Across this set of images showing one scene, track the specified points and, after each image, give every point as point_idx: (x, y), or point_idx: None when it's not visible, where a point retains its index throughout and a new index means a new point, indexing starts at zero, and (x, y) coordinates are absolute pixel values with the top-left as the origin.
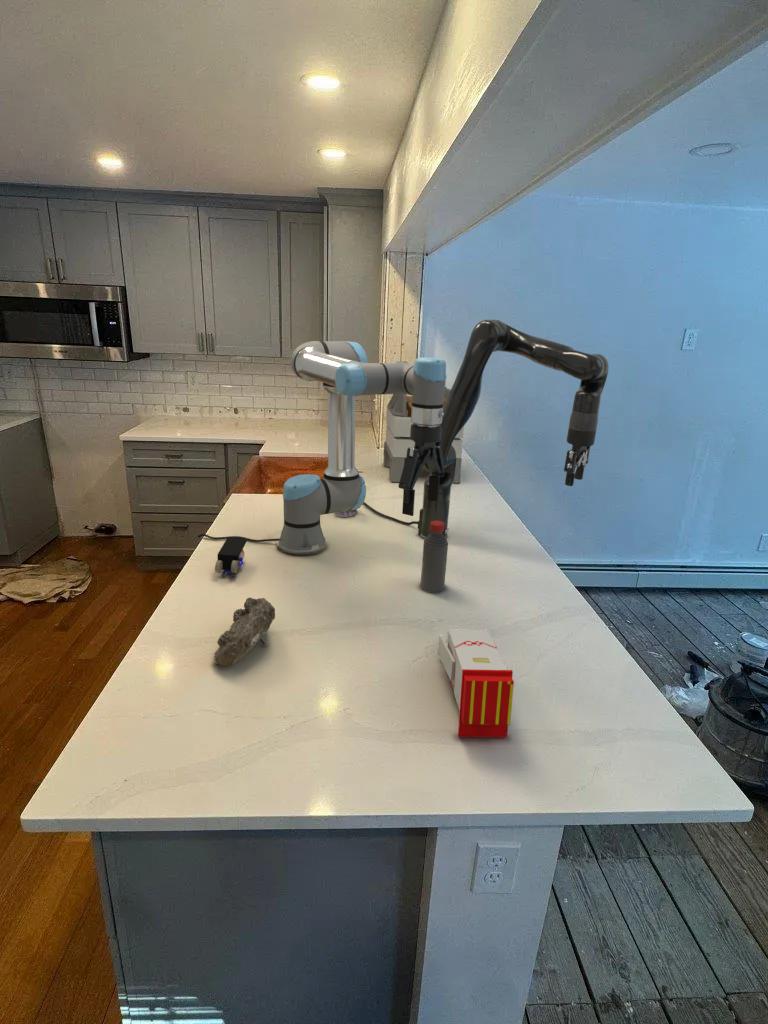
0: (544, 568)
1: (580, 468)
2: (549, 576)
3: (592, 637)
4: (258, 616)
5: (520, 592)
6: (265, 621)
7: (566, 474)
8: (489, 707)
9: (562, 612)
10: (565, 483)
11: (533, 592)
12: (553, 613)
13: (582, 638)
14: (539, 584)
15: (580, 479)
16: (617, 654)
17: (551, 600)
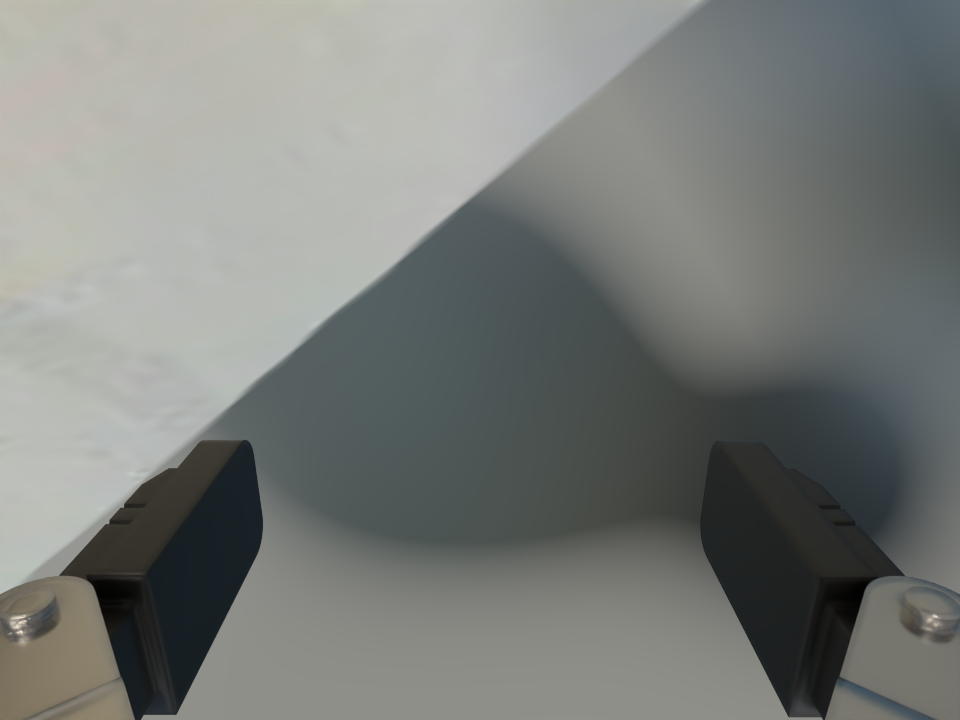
0: (483, 140)
1: (791, 644)
2: (406, 198)
3: (39, 499)
4: None
5: (130, 148)
6: None
7: (116, 544)
8: None
9: (116, 365)
10: (200, 450)
11: (181, 200)
12: (78, 340)
13: (2, 476)
14: (283, 191)
15: (701, 526)
16: (11, 579)
17: (176, 295)
